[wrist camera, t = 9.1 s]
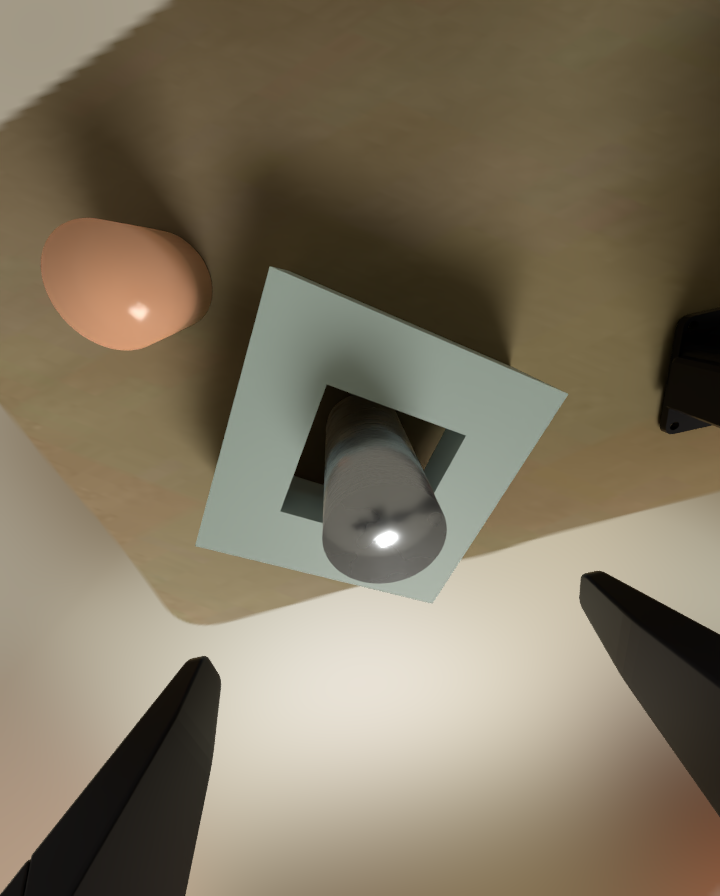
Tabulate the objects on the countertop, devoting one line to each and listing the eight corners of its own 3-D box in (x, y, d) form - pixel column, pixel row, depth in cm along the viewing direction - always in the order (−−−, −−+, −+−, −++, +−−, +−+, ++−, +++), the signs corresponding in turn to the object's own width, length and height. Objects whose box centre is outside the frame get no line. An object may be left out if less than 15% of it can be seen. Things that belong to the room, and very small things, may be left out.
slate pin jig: (510, 366, 19) (568, 394, 14) (412, 540, 23) (432, 603, 18) (287, 270, 16) (269, 266, 11) (225, 487, 20) (195, 545, 16)
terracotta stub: (164, 207, 15) (100, 187, 11) (231, 297, 16) (198, 308, 12) (95, 266, 15) (12, 268, 11) (166, 345, 17) (115, 371, 13)
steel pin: (392, 385, 18) (439, 470, 10) (404, 452, 20) (452, 569, 12) (317, 402, 19) (307, 500, 11) (336, 467, 20) (339, 593, 12)
